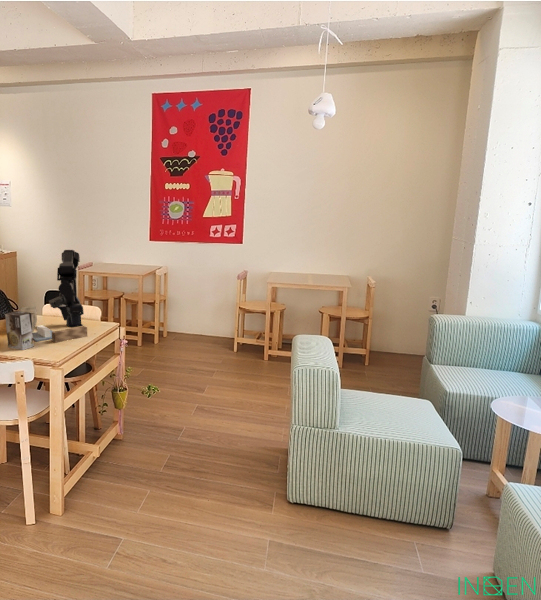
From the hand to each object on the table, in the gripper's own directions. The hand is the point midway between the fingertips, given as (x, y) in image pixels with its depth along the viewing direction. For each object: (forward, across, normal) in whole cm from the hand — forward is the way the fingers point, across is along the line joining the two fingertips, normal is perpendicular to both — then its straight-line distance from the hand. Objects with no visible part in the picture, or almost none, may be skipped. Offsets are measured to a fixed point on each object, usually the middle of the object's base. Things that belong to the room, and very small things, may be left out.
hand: (69, 322), depth 216 cm
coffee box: (+9, -1, -22) cm, 24 cm away
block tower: (+9, -35, -8) cm, 37 cm away
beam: (+9, 0, 0) cm, 9 cm away
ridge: (+8, -12, -8) cm, 17 cm away
